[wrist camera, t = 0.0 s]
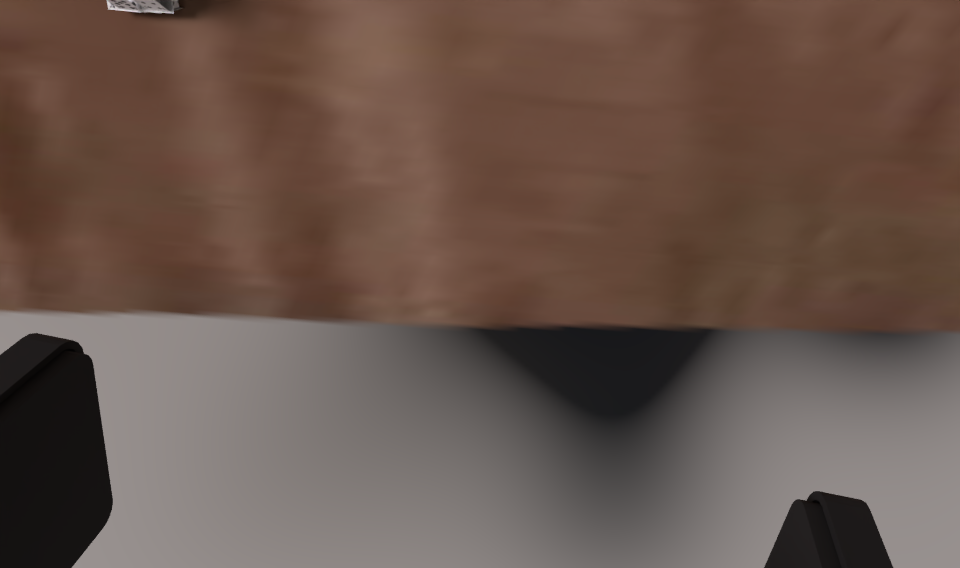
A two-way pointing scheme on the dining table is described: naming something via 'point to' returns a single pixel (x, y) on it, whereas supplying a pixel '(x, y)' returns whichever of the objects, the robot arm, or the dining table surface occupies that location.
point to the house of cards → (144, 5)
